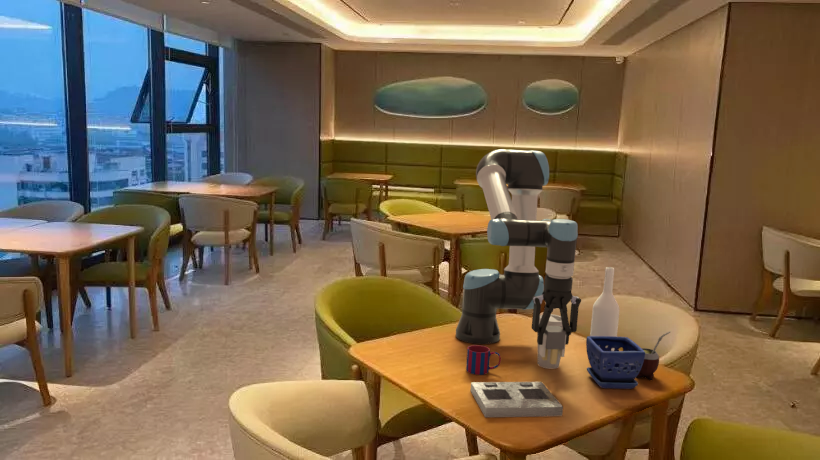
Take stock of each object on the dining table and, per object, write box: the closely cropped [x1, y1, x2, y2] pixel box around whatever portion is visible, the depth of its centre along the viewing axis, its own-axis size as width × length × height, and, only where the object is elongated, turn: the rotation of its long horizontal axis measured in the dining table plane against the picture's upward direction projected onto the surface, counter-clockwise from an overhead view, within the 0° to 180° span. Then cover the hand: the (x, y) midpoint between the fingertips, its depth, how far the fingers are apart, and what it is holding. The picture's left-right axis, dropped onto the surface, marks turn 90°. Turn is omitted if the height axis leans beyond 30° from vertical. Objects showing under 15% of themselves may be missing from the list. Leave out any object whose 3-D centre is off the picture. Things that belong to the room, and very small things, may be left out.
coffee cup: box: [536, 313, 563, 370], centre depth 196 cm, size 10×10×15 cm
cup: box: [465, 344, 502, 376], centre depth 189 cm, size 7×10×7 cm
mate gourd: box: [635, 331, 671, 381], centre depth 190 cm, size 8×8×15 cm
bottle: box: [589, 266, 620, 351], centre depth 202 cm, size 8×8×30 cm
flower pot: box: [585, 335, 645, 390], centre depth 185 cm, size 13×13×12 cm
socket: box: [470, 381, 564, 418], centre depth 168 cm, size 16×20×3 cm
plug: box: [542, 326, 566, 364], centre depth 181 cm, size 5×5×10 cm
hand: (551, 354), depth 181 cm, fingers closed on plug, 5 cm apart
